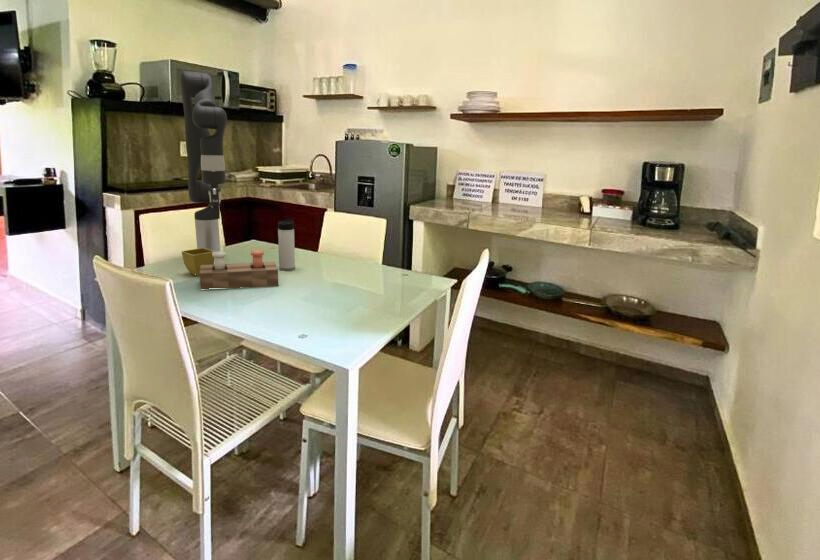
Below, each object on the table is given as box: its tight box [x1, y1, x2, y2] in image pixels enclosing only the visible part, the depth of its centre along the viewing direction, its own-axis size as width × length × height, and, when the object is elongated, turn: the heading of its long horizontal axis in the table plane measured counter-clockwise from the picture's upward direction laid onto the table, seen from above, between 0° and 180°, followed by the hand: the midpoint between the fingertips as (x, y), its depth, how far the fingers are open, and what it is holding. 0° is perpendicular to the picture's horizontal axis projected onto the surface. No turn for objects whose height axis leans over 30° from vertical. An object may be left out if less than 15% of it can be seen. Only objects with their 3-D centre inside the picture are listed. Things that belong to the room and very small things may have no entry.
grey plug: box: [212, 250, 227, 270], centre depth 171 cm, size 4×4×7 cm
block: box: [199, 261, 279, 290], centre depth 175 cm, size 12×26×6 cm, turn 111°
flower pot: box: [180, 248, 215, 276], centre depth 184 cm, size 9×9×9 cm
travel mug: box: [277, 218, 296, 272], centre depth 195 cm, size 6×7×20 cm
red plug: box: [250, 249, 265, 269], centre depth 176 cm, size 4×4×7 cm
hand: (216, 217), depth 167 cm, fingers open, 8 cm apart
